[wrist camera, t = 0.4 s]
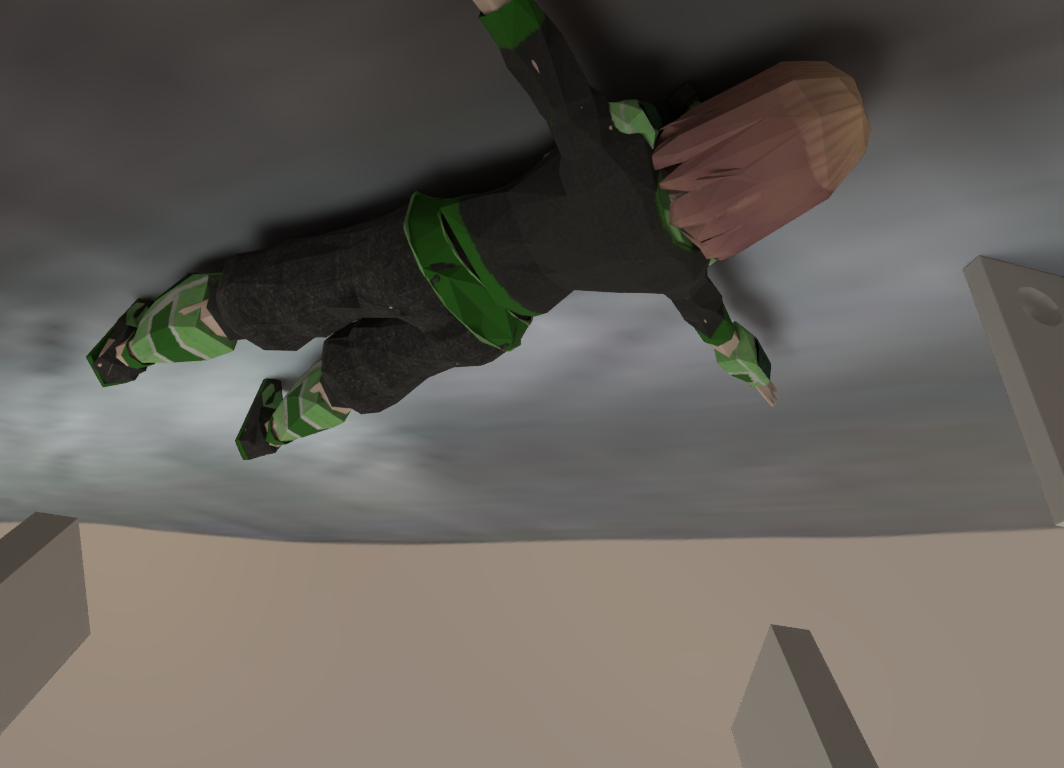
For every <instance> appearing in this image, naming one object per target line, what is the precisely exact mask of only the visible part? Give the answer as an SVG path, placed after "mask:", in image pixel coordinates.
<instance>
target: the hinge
mask: <svg viewBox="0 0 1064 768" xmlns="http://www.w3.org/2000/svg"><path fill="white" fill-rule="evenodd" d="M963 272H964V275H965V277H966V280H967V283H968V286H969V288H970V291H971V294H972V297H973V299H974V302H975V305H976V308H977V310H978V313H979V316H980V319H981V321H982V324H983V327H984V330H985V332H986V335H987V338H988V341H989V343H990V346H991V349H992V352H993V354H994V357H995V360H996V363H997V365H998V368H999V371H1000V374H1001V376H1002V379H1003V382H1004V385H1005V388H1006V390H1007V393H1008V396H1009V399H1010V401H1011V404H1012V407H1013V410H1014V412H1015V415H1016V418H1017V421H1018V423H1019V426H1020V429H1021V432H1022V434H1023V437H1024V440H1025V443H1026V445H1027V448H1028V451H1029V454H1030V456H1031V459H1032V462H1033V465H1034V467H1035V470H1036V473H1037V476H1038V478H1039V481H1040V484H1041V487H1042V489H1043V492H1044V495H1045V498H1046V500H1047V503H1048V506H1049V509H1050V511H1051V514H1052V517H1053V520H1054V523H1055V525H1057V526H1062V527H1064V277H1061V276H1057V275H1053V274H1049V273H1045V272H1041V271H1038V270H1034V269H1030V268H1026V267H1022V266H1018V265H1014V264H1010V263H1006V262H1002V261H998V260H994V259H990V258H987V257H983V256H978V257H977V258H976V259H974V260H973V261H972V262H971V263H970V264H969V265H968V266H966V267H965V268H964V269H963Z"/></svg>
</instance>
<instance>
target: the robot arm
mask: <svg viewBox="0 0 1064 768" xmlns="http://www.w3.org/2000/svg"><path fill="white" fill-rule="evenodd" d="M89 635H90V626H89V616H88V607H87V598H86V588H85V579H84V570H83V560H82V551H81V541H80V532H79V523H78V518H74V517H67V516H61V515H54V514H47V513H41V512H35V513H34V514H32V515H31V516H30V517H28V518H27V519H26V520H25V521H23V522H22V523H21V524H19V525H18V526H17V527H16V528H14V529H13V530H11V531H10V532H9V533H7V534H6V535H5V536H4V537H2V538H1V539H0V735H1V733H2V732H3V731H4V730H5V729H6V728H7V727H8V726H9V724H10V723H11V722H12V721H13V720H14V719H15V718H16V716H18V714H19V713H20V712H21V711H22V710H23V709H24V708H25V706H26V705H27V704H28V703H29V702H30V701H31V700H32V699H33V698H34V696H35V695H36V694H37V693H38V692H39V691H40V690H41V689H42V687H43V686H44V685H45V684H46V683H47V682H48V681H49V680H50V679H51V677H52V676H53V675H54V674H55V673H56V672H57V671H58V669H60V667H61V666H62V665H63V664H64V663H65V662H66V661H67V660H68V658H69V657H70V656H71V655H72V654H73V653H74V652H75V651H76V649H77V648H78V647H79V646H80V645H81V644H82V643H83V642H84V641H85V639H86V638H87V637H88V636H89ZM731 730H732V733H733V736H734V740H735V743H736V746H737V750H738V753H739V757H740V760H741V763H742V767H743V768H879V767H878V765H877V763H876V761H875V759H874V757H873V756H872V754H871V751H870V750H869V748H868V746H867V744H866V742H865V740H864V738H863V736H862V734H861V732H860V730H859V728H858V726H857V724H856V722H855V720H854V718H853V716H852V714H851V712H850V710H849V708H848V706H847V704H846V702H845V700H844V698H843V696H842V694H841V692H840V690H839V688H838V686H837V684H836V682H835V680H834V678H833V676H832V674H831V672H830V670H829V668H828V666H827V664H826V662H825V660H824V658H823V656H822V654H821V652H820V650H819V648H818V646H817V644H816V642H815V640H814V638H813V636H812V634H811V632H810V631H809V630H805V629H798V628H792V627H785V626H779V625H772V624H771V625H770V627H769V630H768V632H767V635H766V638H765V640H764V643H763V646H762V648H761V651H760V653H759V656H758V659H757V661H756V664H755V667H754V670H753V672H752V675H751V677H750V680H749V682H748V685H747V688H746V690H745V693H744V696H743V698H742V701H741V704H740V706H739V709H738V712H737V714H736V717H735V719H734V722H733V725H732V727H731Z"/></svg>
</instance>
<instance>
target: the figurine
mask: <svg viewBox="0 0 1064 768" xmlns="http://www.w3.org/2000/svg"><path fill="white" fill-rule="evenodd" d="M473 1H474V3H475V4H476V5H477V6H478V8H479V9H480V10H481V12H480V15H479V18H480V20H481V21H482V23H483V24H484V26H485V27H486V29H487V30H488V32H489V33H490V34H491V36H492V37H493V39H494V40H495V42H496V43H497V45H498V46H499V48H500V51H501V53H502V56H503V58H504V61H505V64H506V66H507V68H508V69H509V70H510V72H511V73H512V74H513V76H514V77H515V78H516V79H517V81H518V82H519V83H520V84H521V86H522V87H523V88H524V89H525V91H526V92H527V93H528V94H529V96H530V97H531V99H532V101H533V102H534V104H535V106H536V107H537V109H538V111H539V112H540V114H541V115H542V116H543V117H544V119H545V120H546V121H547V124H548V126H549V128H550V131H551V133H552V135H553V138H554V140H555V142H556V145H557V146H556V147H555V148H553V149H552V150H551V151H550V152H549V153H547V154H545V156H544V158H543V159H542V160H541V161H540V162H539V163H538V164H536V165H535V166H534V167H533V168H532V169H531V170H530V171H529V172H527V173H525V174H524V175H522V176H521V177H519V178H517V179H516V180H514V181H512V182H511V183H509V184H508V185H506V186H504V187H501V188H498V189H494V190H491V191H488V192H485V193H475V194H466V195H463V196H459V197H455V198H452V199H450V198H447V199H446V198H438V197H431V196H427V195H425V194H423V193H420V192H418V191H415V192H414V194H413V195H412V196H411V199H410V203H409V204H408V205H406V206H403V207H401V208H399V209H397V210H395V211H393V212H391V213H388V214H385V215H382V216H379V217H376V218H373V219H370V220H367V221H364V222H361V223H358V224H355V225H352V226H349V227H346V228H342V229H339V230H335V231H332V232H328V233H325V234H321V235H318V236H315V237H305V238H291V239H289V240H286V241H284V242H282V243H280V244H278V245H276V246H274V247H272V248H270V249H268V250H259V251H253V252H248V253H242V254H237V255H236V256H234V257H233V258H231V259H230V260H229V261H227V262H226V263H225V266H224V269H223V272H222V273H207V274H199V273H188V274H187V275H186V276H185V277H183V278H182V279H181V280H180V281H178V282H177V283H176V284H174V285H173V286H172V287H171V288H169V289H168V290H167V291H166V292H164V293H163V294H162V295H160V296H159V297H158V298H157V299H155V300H156V301H155V303H154V301H152V300H141V299H140V298H139V299H137V300H136V301H135V302H134V303H133V304H132V305H131V307H130V308H129V309H128V310H127V311H126V312H125V313H124V314H123V315H122V316H121V317H120V318H119V319H118V320H117V322H116V323H115V325H114V326H113V327H112V328H111V329H110V330H109V331H108V332H107V334H106V335H105V336H104V337H103V338H102V339H101V340H100V342H99V343H98V344H97V345H96V346H95V347H94V348H93V349H92V351H91V352H90V353H89V354H88V355H87V356H86V358H87V360H88V362H89V364H90V365H91V367H92V369H93V371H94V372H95V374H96V376H97V378H98V380H99V381H100V383H101V385H102V387H107V386H112V385H118V384H123V383H127V382H130V381H134V380H135V379H136V378H137V376H138V375H139V374H140V373H142V372H144V371H146V369H147V366H150V365H153V364H155V363H163V362H187V361H202V360H209V359H212V358H215V357H217V356H220V355H223V354H226V353H228V352H231V351H234V348H235V346H236V343H237V340H241V339H247V340H248V341H250V342H252V343H253V344H255V345H257V346H258V347H260V348H262V349H263V350H283V351H297V350H298V349H300V348H301V347H303V346H304V345H305V344H307V343H308V342H309V341H311V340H312V339H313V338H315V337H328V336H329V335H331V334H332V333H333V334H332V335H331V336H330V337H329V338H327V339H326V340H325V341H324V345H323V354H322V360H320V361H317V362H316V363H315V364H314V365H313V366H312V367H311V368H310V369H309V370H308V371H307V372H306V373H305V374H304V375H303V376H302V377H301V378H300V379H299V380H298V381H297V382H296V383H295V384H294V386H293V387H292V388H291V389H290V391H289V392H288V393H287V395H286V396H285V397H284V398H283V396H282V386H281V381H276V380H271V379H268V378H266V379H264V380H263V382H262V384H261V386H260V388H259V390H258V392H257V395H256V397H255V399H254V401H253V403H252V405H251V408H250V410H249V412H248V414H247V416H246V418H245V421H244V423H243V425H242V427H241V429H240V431H239V433H238V436H237V438H236V440H235V442H236V445H237V447H238V449H239V452H240V454H241V456H242V458H243V460H250V459H253V458H257V457H260V456H265V455H268V454H272V453H276V451H277V450H278V449H279V447H280V446H281V445H285V444H288V443H290V442H292V441H293V440H295V439H298V438H302V437H305V436H308V435H311V434H314V433H317V432H320V431H323V430H326V429H330V428H332V427H335V426H337V425H339V424H341V423H343V422H344V421H345V420H346V418H347V416H348V414H349V413H350V411H351V410H352V409H353V410H355V411H357V412H359V413H360V414H366V413H377V412H381V411H383V410H384V409H386V408H388V407H390V406H392V405H394V404H396V403H398V402H399V401H400V400H401V399H402V398H404V397H405V396H406V395H407V394H409V393H410V392H411V391H412V390H414V389H415V388H416V387H417V386H419V385H420V384H421V383H422V382H423V381H425V380H426V379H427V378H428V377H431V376H433V375H436V374H438V373H441V372H443V371H446V370H448V369H451V368H453V367H466V366H481V365H484V364H487V363H489V362H492V361H493V360H495V359H496V358H498V357H499V356H501V355H502V354H503V353H505V352H506V351H512V350H513V349H515V348H517V347H518V346H520V345H521V338H522V336H523V335H524V333H525V331H526V329H527V328H528V326H529V325H530V324H531V322H532V320H533V316H538V315H541V314H544V313H547V312H549V311H550V310H551V309H552V308H553V307H554V306H556V305H557V304H558V303H559V302H560V301H562V300H563V299H564V298H565V297H566V296H568V295H569V294H570V293H571V292H572V291H573V290H583V291H599V292H616V293H655V294H664V295H666V296H667V297H668V298H670V299H671V300H672V302H673V303H674V305H675V306H676V308H677V309H678V310H679V312H680V313H681V315H682V317H683V318H684V320H685V321H686V322H688V323H689V324H690V325H692V326H693V327H694V328H695V330H696V331H697V332H698V334H699V335H700V337H701V338H702V340H703V341H704V342H706V343H709V344H710V345H711V346H712V347H713V348H714V350H715V355H716V359H717V363H718V364H719V365H720V366H721V367H722V368H723V369H724V370H725V371H726V372H727V373H729V374H730V375H732V376H734V377H737V378H739V379H741V380H744V381H746V382H748V384H749V385H750V386H751V387H756V388H757V389H758V391H759V392H760V393H761V395H762V396H763V397H764V398H765V399H766V400H767V402H768V403H769V404H770V405H771V406H772V407H774V405H773V403H774V404H775V405H776V403H775V401H774V399H773V397H774V398H776V399H777V396H776V395H775V393H774V391H775V392H777V390H776V388H775V386H774V385H773V384H772V382H771V381H770V372H771V363H770V361H769V359H768V357H767V355H766V354H765V352H764V350H763V348H762V347H761V345H760V343H759V341H758V339H757V338H755V337H754V335H753V334H751V333H750V332H749V331H748V330H746V329H745V328H744V327H743V326H741V325H740V324H739V323H738V322H736V321H734V322H733V323H732V321H731V319H730V317H729V315H728V312H727V310H726V308H725V306H724V304H723V300H722V295H721V294H720V292H719V291H718V290H717V288H716V287H715V286H714V284H713V283H712V281H711V280H710V279H709V277H708V276H707V268H708V266H710V265H712V264H713V263H714V262H715V261H716V260H725V259H727V258H728V257H729V256H735V255H736V254H738V253H740V252H741V251H743V250H744V249H746V248H748V247H749V246H751V245H753V244H754V243H756V242H758V241H759V240H761V239H762V238H764V237H766V236H767V235H769V234H771V233H772V232H774V231H776V230H777V229H779V228H781V227H782V226H784V225H785V224H787V223H789V222H790V221H792V220H794V219H795V218H797V217H799V216H800V215H802V214H803V213H805V212H807V211H808V210H810V209H812V208H813V207H815V206H817V205H818V204H820V203H821V202H823V201H825V200H826V199H828V198H829V197H830V196H831V194H832V193H833V192H834V191H835V189H836V188H837V187H838V186H839V184H840V183H841V182H842V181H843V179H844V178H845V177H846V176H847V174H848V173H849V172H850V171H851V169H852V168H853V167H854V166H855V164H856V163H857V162H858V161H859V159H860V158H861V157H862V156H863V154H864V153H865V150H866V146H867V142H868V138H869V134H870V130H871V127H870V124H869V120H868V117H867V114H866V110H865V107H864V104H863V101H862V97H861V95H860V92H859V90H858V88H857V85H856V83H855V80H854V78H853V77H851V76H850V75H848V74H846V73H845V72H843V71H841V70H840V69H838V68H836V67H835V66H833V65H831V64H829V63H828V62H826V61H789V62H780V63H778V64H776V65H774V66H773V67H771V68H769V69H767V70H765V71H763V72H761V73H759V74H757V75H755V76H753V77H751V78H750V79H748V80H746V81H744V82H742V83H740V84H738V85H736V86H734V87H732V88H730V89H728V90H726V91H724V92H722V93H720V94H718V95H716V96H715V97H710V98H708V99H707V100H706V101H705V102H703V103H700V102H699V101H698V96H699V95H698V94H697V93H696V92H695V89H694V87H693V86H692V85H691V84H690V83H687V84H685V85H684V86H683V87H682V88H681V89H679V90H678V91H677V92H676V93H675V94H674V95H673V97H672V99H671V101H670V104H671V106H672V108H673V109H674V111H675V113H683V114H684V115H682V116H681V117H680V118H678V119H677V120H675V121H674V122H673V123H670V124H668V125H666V126H665V127H663V128H662V120H661V118H660V116H659V114H658V112H657V110H656V108H655V106H654V105H653V104H650V103H647V102H644V101H640V100H638V99H628V100H623V101H618V102H609V101H608V100H607V98H606V96H605V95H604V93H602V92H600V91H598V90H597V89H595V88H593V87H591V86H590V85H589V83H588V81H587V79H586V78H585V76H584V74H583V72H582V70H581V68H580V66H579V65H578V63H577V61H576V59H575V57H574V55H573V54H572V52H571V50H570V48H569V46H568V44H567V43H566V41H565V39H564V37H563V35H562V33H561V32H560V31H559V30H558V29H557V27H556V26H555V25H554V24H553V23H552V21H551V20H550V19H549V18H548V17H547V15H546V14H545V13H544V12H543V11H542V10H541V8H540V7H539V6H538V5H537V4H536V3H535V2H534V1H533V0H473ZM661 128H662V129H664V131H663V132H662V134H661V136H660V137H659V139H658V140H657V142H656V139H657V135H658V132H659V131H660V130H662V129H661ZM655 142H656V144H655ZM656 147H657V148H656ZM654 148H656V149H655V150H654ZM681 162H683V163H682V164H681V165H678V166H671V165H674V164H677V163H681ZM668 166H671V167H668ZM725 232H726V233H725ZM723 233H724V234H723ZM359 318H362V319H361V320H359V321H357V322H352V321H354V320H356V319H359ZM351 322H352V323H351ZM756 339H757V340H756ZM773 390H774V391H773Z"/></svg>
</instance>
